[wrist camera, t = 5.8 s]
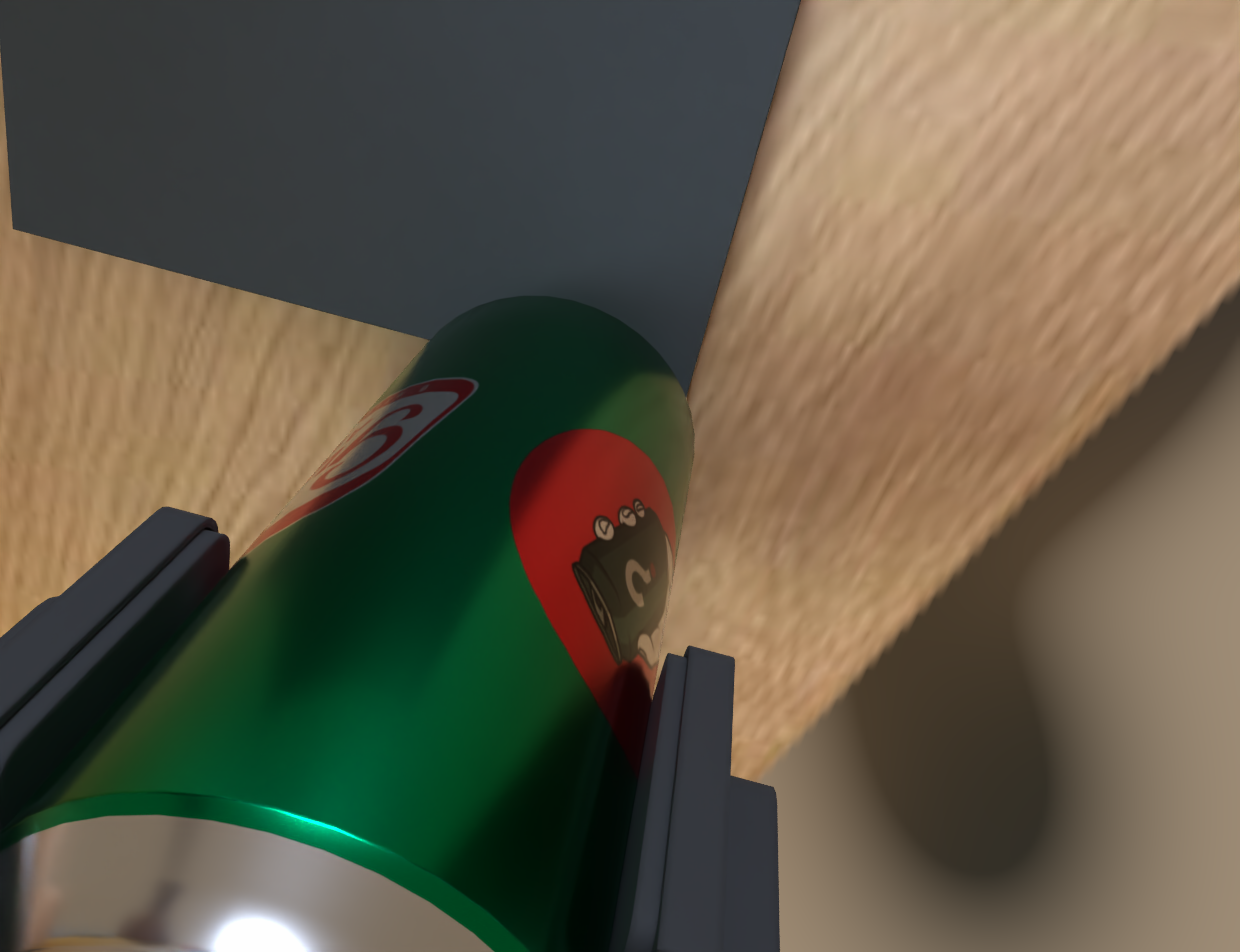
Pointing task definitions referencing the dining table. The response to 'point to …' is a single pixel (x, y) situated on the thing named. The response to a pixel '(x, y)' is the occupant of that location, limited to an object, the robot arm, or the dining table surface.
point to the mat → (401, 148)
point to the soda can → (398, 680)
